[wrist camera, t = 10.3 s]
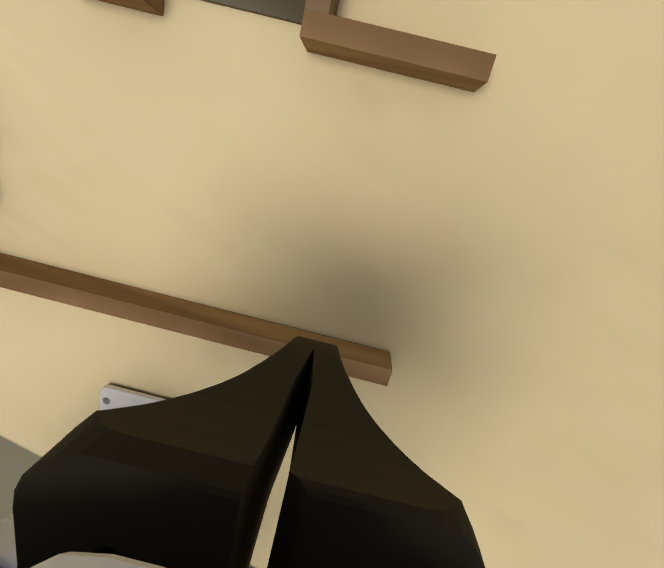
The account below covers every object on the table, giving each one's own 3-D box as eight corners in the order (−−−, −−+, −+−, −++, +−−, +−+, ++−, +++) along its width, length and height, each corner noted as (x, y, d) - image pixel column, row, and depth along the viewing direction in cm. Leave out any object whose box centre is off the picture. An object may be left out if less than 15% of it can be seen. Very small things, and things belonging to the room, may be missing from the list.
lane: (385, 366, 21) (387, 386, 20) (-208, 215, 22) (-263, 219, 20) (524, -66, 15) (547, -101, 13) (-322, -268, 15) (-419, -330, 14)
